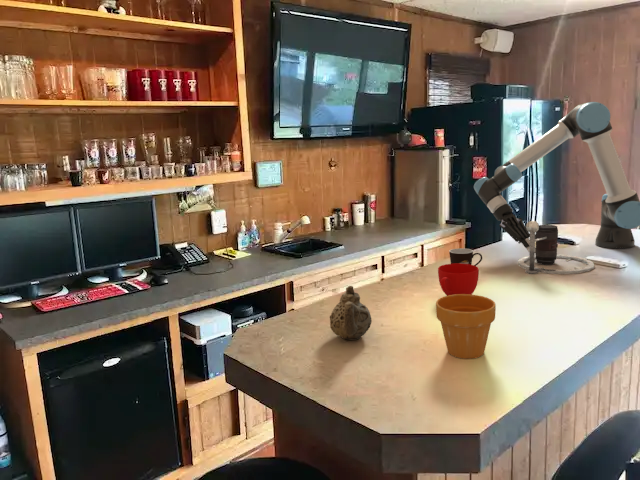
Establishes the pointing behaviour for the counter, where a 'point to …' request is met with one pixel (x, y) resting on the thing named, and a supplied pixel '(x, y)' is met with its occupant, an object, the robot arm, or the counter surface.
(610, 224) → the robot arm
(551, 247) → the camera lens
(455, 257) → the coffee mug
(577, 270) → the grey flat ring
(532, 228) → the metal stand with knob
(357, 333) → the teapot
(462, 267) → the ceramic cup
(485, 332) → the flower pot
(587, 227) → the counter surface
